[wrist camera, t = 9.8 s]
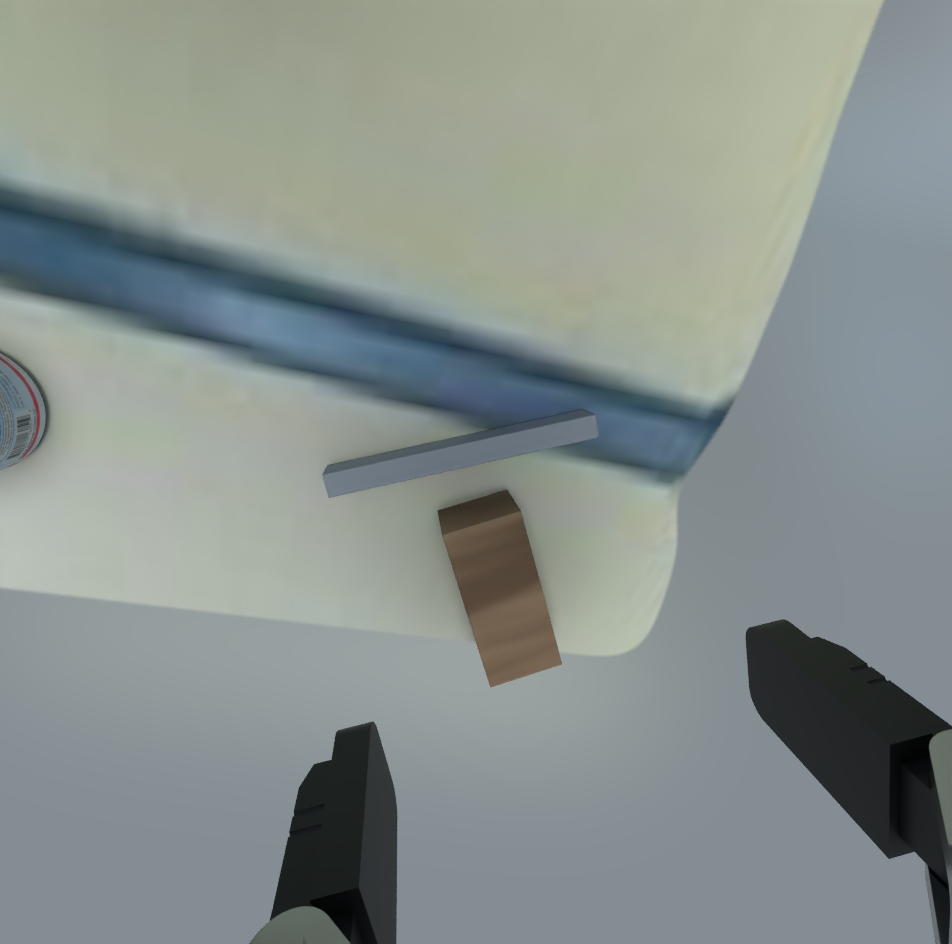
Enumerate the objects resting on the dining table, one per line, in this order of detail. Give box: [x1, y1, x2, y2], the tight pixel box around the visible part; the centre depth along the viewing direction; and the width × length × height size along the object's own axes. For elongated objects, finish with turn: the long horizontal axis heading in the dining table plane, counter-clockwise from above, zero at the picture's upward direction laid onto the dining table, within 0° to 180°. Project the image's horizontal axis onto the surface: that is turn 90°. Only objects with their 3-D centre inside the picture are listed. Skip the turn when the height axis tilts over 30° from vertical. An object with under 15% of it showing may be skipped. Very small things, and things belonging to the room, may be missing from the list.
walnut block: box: [438, 490, 562, 687], centre depth 31 cm, size 4×4×9 cm
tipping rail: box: [323, 409, 599, 498], centre depth 30 cm, size 1×14×2 cm, turn 102°
